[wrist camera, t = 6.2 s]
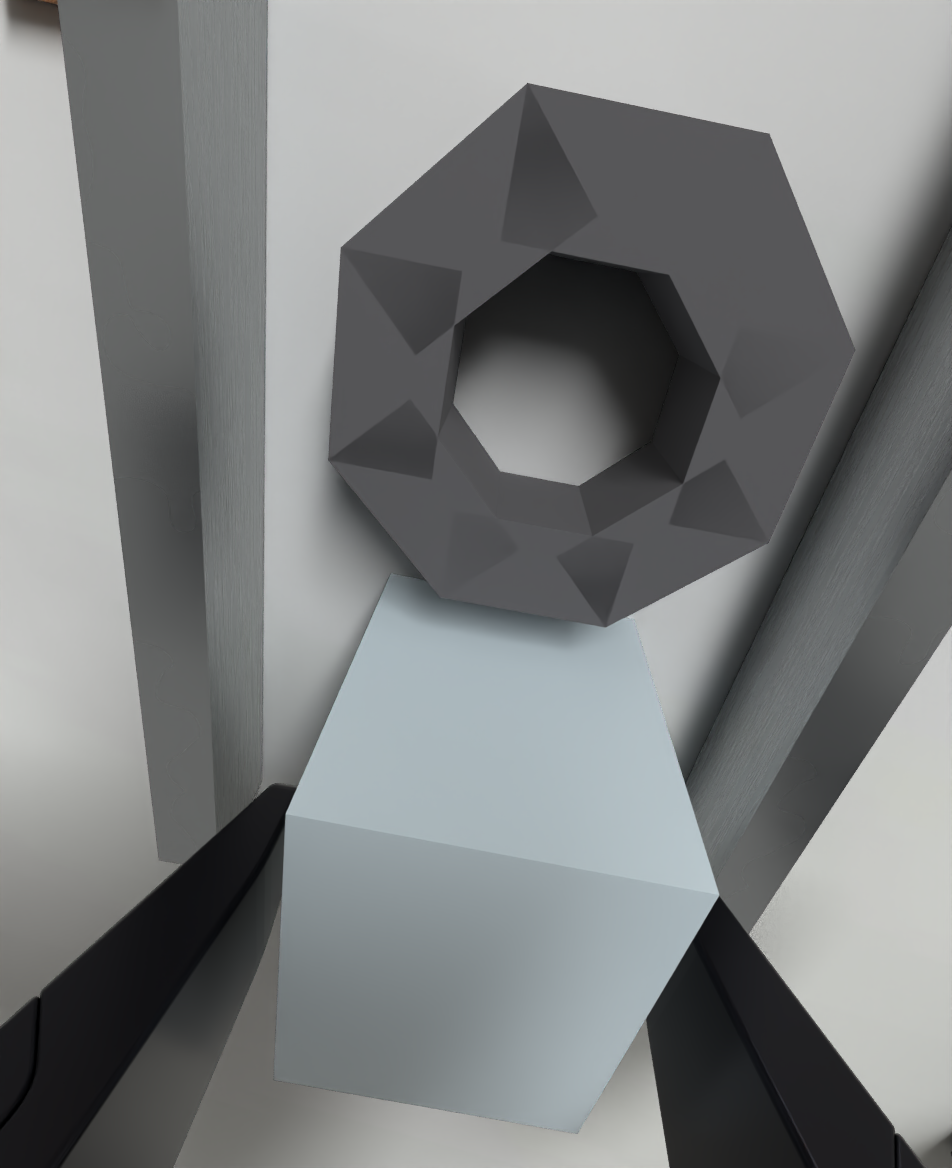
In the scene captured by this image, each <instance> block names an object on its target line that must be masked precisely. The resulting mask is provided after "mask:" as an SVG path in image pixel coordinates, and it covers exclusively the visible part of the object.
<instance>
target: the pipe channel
mask: <svg viewBox="0 0 952 1168" xmlns="http://www.w3.org/2000/svg"><path fill="white" fill-rule="evenodd" d="M39 1H44V2H49V3H53V4H58V10H59V19H60V27H61V36H62V44H63V52H64V61H65V69H66V78H67V86H68V95H69V103H70V112H71V120H72V129H73V137H74V146H75V154H76V163H77V171H78V179H79V188H80V196H81V205H82V213H83V222H84V230H85V239H86V247H87V256H88V264H89V273H90V281H91V289H92V298H93V306H94V315H95V323H96V332H97V340H98V349H99V357H100V366H101V374H102V383H103V391H104V400H105V408H106V416H107V425H108V433H109V442H110V450H111V459H112V467H113V476H114V484H115V493H116V501H117V510H118V518H119V526H120V535H121V543H122V552H123V560H124V569H125V577H126V586H127V594H128V603H129V611H130V620H131V628H132V637H133V645H134V653H135V662H136V670H137V679H138V687H139V696H140V704H141V713H142V721H143V730H144V738H145V747H146V755H147V764H148V772H149V780H150V789H151V797H152V806H153V814H154V823H155V831H156V840H157V848H158V857H159V860H161V861H167V862H173V863H179V864H183V863H184V862H185V861H187V860H188V859H189V858H190V857H191V856H192V855H193V854H194V853H196V852H197V851H198V850H199V849H200V848H201V847H202V846H203V845H204V844H206V843H207V842H208V841H209V840H210V839H211V838H212V837H213V836H215V835H216V834H217V833H218V832H219V831H220V830H221V829H222V828H224V827H225V826H226V825H227V824H228V823H229V822H230V821H231V820H232V819H234V818H235V817H236V816H237V815H238V814H239V813H240V812H241V811H243V810H244V809H245V808H246V807H247V806H248V805H249V804H250V803H251V802H252V800H253V798H254V796H255V794H256V791H257V789H258V787H259V785H260V783H261V781H262V699H263V547H264V396H265V245H266V93H267V0H39ZM951 626H952V227H951V229H950V231H949V233H948V235H947V237H946V239H945V242H944V244H943V246H942V248H941V250H940V252H939V254H938V256H937V258H936V260H935V262H934V265H933V267H932V269H931V271H930V273H929V275H928V277H927V279H926V281H925V283H924V285H923V288H922V290H921V292H920V294H919V296H918V298H917V300H916V302H915V304H914V306H913V308H912V311H911V313H910V315H909V317H908V319H907V321H906V323H905V325H904V327H903V329H902V331H901V334H900V336H899V338H898V340H897V342H896V344H895V346H894V348H893V350H892V352H891V354H890V357H889V359H888V361H887V363H886V365H885V367H884V369H883V371H882V373H881V375H880V377H879V380H878V382H877V384H876V386H875V388H874V390H873V392H872V394H871V396H870V398H869V401H868V403H867V405H866V407H865V409H864V411H863V413H862V415H861V417H860V419H859V421H858V424H857V426H856V428H855V430H854V432H853V434H852V436H851V438H850V440H849V442H848V444H847V447H846V449H845V451H844V453H843V455H842V457H841V459H840V461H839V463H838V465H837V467H836V470H835V472H834V474H833V476H832V478H831V480H830V482H829V484H828V486H827V488H826V490H825V493H824V495H823V497H822V499H821V501H820V503H819V505H818V507H817V509H816V511H815V513H814V516H813V518H812V520H811V522H810V524H809V526H808V528H807V530H806V532H805V534H804V537H803V539H802V541H801V543H800V545H799V547H798V549H797V551H796V553H795V555H794V557H793V560H792V562H791V564H790V566H789V568H788V570H787V572H786V574H785V576H784V578H783V580H782V583H781V585H780V587H779V589H778V591H777V593H776V595H775V597H774V599H773V601H772V603H771V606H770V608H769V610H768V612H767V614H766V616H765V618H764V620H763V622H762V624H761V626H760V629H759V631H758V633H757V635H756V637H755V639H754V641H753V643H752V645H751V647H750V649H749V652H748V654H747V656H746V658H745V660H744V662H743V664H742V666H741V668H740V670H739V672H738V675H737V677H736V679H735V681H734V683H733V685H732V687H731V689H730V691H729V693H728V696H727V698H726V700H725V702H724V704H723V706H722V708H721V710H720V712H719V714H718V716H717V719H716V721H715V723H714V725H713V727H712V729H711V731H710V733H709V735H708V737H707V739H706V742H705V744H704V746H703V748H702V750H701V752H700V754H699V756H698V758H697V760H696V762H695V765H694V767H693V769H692V771H691V773H690V775H689V777H688V779H687V781H686V783H685V785H686V788H687V792H688V795H689V798H690V801H691V805H692V808H693V811H694V814H695V818H696V821H697V824H698V827H699V831H700V834H701V837H702V840H703V843H704V847H705V850H706V853H707V856H708V860H709V863H710V866H711V869H712V873H713V876H714V879H715V882H716V885H717V889H718V892H719V896H720V897H721V899H722V900H723V901H724V903H725V904H726V905H727V906H728V908H729V909H730V910H731V912H732V913H733V914H734V916H735V917H736V918H737V920H738V921H739V922H740V924H741V925H742V926H743V928H744V929H745V930H746V932H747V933H748V934H749V933H750V931H751V930H752V928H753V926H754V925H755V923H756V922H757V920H758V919H759V917H760V916H761V914H762V913H763V911H764V910H765V908H766V907H767V905H768V904H769V902H770V901H771V899H772V898H773V896H774V895H775V893H776V892H777V890H778V889H779V887H780V885H781V884H782V882H783V881H784V879H785V878H786V876H787V875H788V873H789V872H790V870H791V869H792V867H793V866H794V864H795V863H796V861H797V860H798V858H799V857H800V855H801V854H802V852H803V851H804V849H805V848H806V846H807V844H808V843H809V841H810V840H811V838H812V837H813V835H814V834H815V832H816V831H817V829H818V828H819V826H820V825H821V823H822V822H823V820H824V819H825V817H826V816H827V814H828V813H829V811H830V810H831V808H832V807H833V805H834V803H835V802H836V800H837V799H838V797H839V796H840V794H841V793H842V791H843V790H844V788H845V787H846V785H847V784H848V782H849V781H850V779H851V778H852V776H853V775H854V773H855V772H856V770H857V769H858V767H859V765H860V764H861V762H862V761H863V759H864V758H865V756H866V755H867V753H868V752H869V750H870V749H871V747H872V746H873V744H874V743H875V741H876V740H877V738H878V737H879V735H880V734H881V732H882V731H883V729H884V728H885V726H886V724H887V723H888V721H889V720H890V718H891V717H892V715H893V714H894V712H895V711H896V709H897V708H898V706H899V705H900V703H901V702H902V700H903V699H904V697H905V696H906V694H907V693H908V691H909V690H910V688H911V687H912V685H913V683H914V682H915V680H916V679H917V677H918V676H919V674H920V673H921V671H922V670H923V668H924V667H925V665H926V664H927V662H928V661H929V659H930V658H931V656H932V655H933V653H934V652H935V650H936V649H937V647H938V646H939V644H940V642H941V641H942V639H943V638H944V636H945V635H946V633H947V632H948V630H949V629H950V627H951Z"/></svg>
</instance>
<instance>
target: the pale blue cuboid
mask: <svg viewBox="0 0 952 1168" xmlns="http://www.w3.org/2000/svg"><path fill="white" fill-rule="evenodd" d="M718 897H719V892H718V889H717V885H716V882H715V879H714V876H713V873H712V869H711V866H710V863H709V860H708V856H707V853H706V850H705V847H704V843H703V840H702V837H701V834H700V831H699V827H698V824H697V821H696V818H695V814H694V811H693V808H692V805H691V801H690V798H689V795H688V792H687V788H686V785H685V782H684V779H683V776H682V772H681V769H680V766H679V763H678V759H677V756H676V753H675V750H674V746H673V743H672V740H671V737H670V734H669V730H668V727H667V724H666V721H665V717H664V714H663V711H662V708H661V704H660V701H659V698H658V695H657V691H656V688H655V685H654V682H653V679H652V675H651V672H650V669H649V666H648V662H647V659H646V656H645V653H644V649H643V646H642V643H641V640H640V637H639V633H638V630H637V627H636V624H635V620H634V619H629V618H623V619H621V620H619V621H617V622H615V623H613V624H612V625H610V626H608V627H606V628H605V627H600V626H594V625H589V624H583V623H578V622H572V621H567V620H561V619H556V618H550V617H545V616H539V615H534V614H528V613H523V612H517V611H512V610H506V609H501V608H495V607H490V606H484V605H479V604H473V603H468V602H462V601H457V600H451V599H446V598H440V597H439V595H438V594H437V593H436V592H435V590H434V589H433V588H432V587H431V586H430V584H429V583H428V582H427V581H426V580H423V579H417V578H412V577H407V576H401V575H396V574H390V577H389V579H388V581H387V584H386V586H385V588H384V590H383V593H382V595H381V597H380V600H379V602H378V604H377V606H376V609H375V611H374V613H373V616H372V618H371V620H370V622H369V625H368V627H367V629H366V632H365V634H364V636H363V638H362V641H361V643H360V645H359V648H358V650H357V652H356V654H355V657H354V659H353V661H352V664H351V666H350V668H349V670H348V673H347V675H346V677H345V680H344V682H343V684H342V686H341V689H340V691H339V693H338V696H337V698H336V700H335V702H334V705H333V707H332V709H331V712H330V714H329V716H328V718H327V721H326V723H325V725H324V728H323V730H322V732H321V734H320V737H319V739H318V741H317V744H316V746H315V748H314V750H313V753H312V755H311V757H310V760H309V762H308V764H307V766H306V769H305V771H304V773H303V776H302V778H301V780H300V782H299V785H298V787H297V789H296V792H295V794H294V796H293V798H292V801H291V803H290V805H289V808H288V810H287V812H286V817H285V839H284V861H283V883H282V905H281V927H280V948H279V970H278V992H277V1014H276V1036H275V1058H274V1080H275V1081H281V1082H287V1083H292V1084H298V1085H304V1086H309V1087H315V1088H321V1089H326V1090H332V1091H338V1092H343V1093H349V1094H355V1095H360V1096H366V1097H372V1098H377V1099H383V1100H388V1101H394V1102H400V1103H405V1104H411V1105H417V1106H422V1107H428V1108H434V1109H439V1110H445V1111H451V1112H456V1113H462V1114H468V1115H473V1116H479V1117H485V1118H490V1119H496V1120H501V1121H507V1122H513V1123H518V1124H524V1125H530V1126H535V1127H541V1128H547V1129H552V1130H558V1131H564V1132H569V1133H575V1134H578V1132H579V1130H580V1129H581V1127H582V1125H583V1124H584V1122H585V1120H586V1119H587V1117H588V1115H589V1114H590V1112H591V1110H592V1108H593V1107H594V1105H595V1103H596V1102H597V1100H598V1098H599V1097H600V1095H601V1093H602V1092H603V1090H604V1088H605V1087H606V1085H607V1083H608V1082H609V1080H610V1078H611V1077H612V1075H613V1073H614V1072H615V1070H616V1068H617V1066H618V1065H619V1063H620V1061H621V1060H622V1058H623V1056H624V1055H625V1053H626V1051H627V1050H628V1048H629V1046H630V1045H631V1043H632V1041H633V1040H634V1038H635V1036H636V1035H637V1033H638V1031H639V1029H640V1028H641V1026H642V1024H643V1023H644V1021H645V1019H646V1018H647V1016H648V1014H649V1013H650V1011H651V1009H652V1008H653V1006H654V1004H655V1003H656V1001H657V999H658V998H659V996H660V994H661V992H662V991H663V989H664V987H665V986H666V984H667V982H668V981H669V979H670V977H671V976H672V974H673V972H674V971H675V969H676V967H677V966H678V964H679V962H680V961H681V959H682V957H683V955H684V954H685V952H686V950H687V949H688V947H689V945H690V944H691V942H692V940H693V939H694V937H695V935H696V934H697V932H698V930H699V929H700V927H701V925H702V924H703V922H704V920H705V919H706V917H707V915H708V913H709V912H710V910H711V908H712V907H713V905H714V903H715V902H716V900H717V898H718Z"/></svg>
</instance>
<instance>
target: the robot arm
mask: <svg viewBox="0 0 952 1168" xmlns="http://www.w3.org/2000/svg"><path fill="white" fill-rule="evenodd" d="M297 787H298V786H294V785H288V784H282V783H275V784H272V785H271V786H269V787H268V788H267V789H266V790H265V791H264V792H263V793H262V794H260V795H259V796H258V797H257V798H256V799H255V800H254V801H253V802H251V803H250V804H249V805H248V806H247V807H246V808H245V809H244V810H243V811H241V812H240V813H239V814H238V815H237V816H236V817H235V818H234V819H232V820H231V821H230V822H229V823H228V824H227V825H226V826H225V827H224V828H222V829H221V830H220V831H219V832H218V833H217V834H216V835H215V836H213V837H212V838H211V839H210V840H209V841H208V842H207V843H206V844H204V845H203V846H202V847H201V848H200V849H199V850H198V851H197V852H196V853H194V854H193V855H192V856H191V857H190V858H189V859H188V860H187V861H185V862H184V863H183V864H182V865H181V866H180V867H179V868H178V869H177V870H175V871H174V872H173V873H172V874H171V875H170V876H169V877H168V878H166V879H165V880H164V881H163V882H162V883H161V884H160V885H159V886H158V887H156V888H155V889H154V890H153V891H152V892H151V893H150V894H149V895H147V896H146V897H145V898H144V899H143V900H142V901H141V902H140V903H138V904H137V905H136V906H135V907H134V908H133V909H132V910H131V911H130V912H128V913H127V914H126V915H125V916H124V917H123V918H122V919H121V920H119V921H118V922H117V923H116V924H115V925H114V926H113V927H112V928H111V929H109V930H108V931H107V932H106V933H105V934H104V935H103V936H102V937H100V938H99V939H98V940H97V941H96V942H95V943H94V944H93V945H92V946H90V947H89V948H88V949H87V950H86V951H85V952H84V953H83V954H81V955H80V956H79V957H78V958H77V959H76V960H75V961H74V962H72V963H71V964H70V965H69V966H68V967H67V968H66V969H65V970H64V971H62V972H61V973H60V974H59V975H58V976H57V977H56V978H55V979H53V980H52V981H51V982H50V983H49V984H48V985H47V986H46V987H45V988H43V989H42V991H41V993H40V998H39V997H33V998H32V999H31V1000H29V1001H28V1002H27V1003H26V1004H25V1005H24V1006H23V1007H22V1008H21V1009H19V1010H18V1011H17V1012H16V1013H15V1014H14V1015H13V1016H12V1017H11V1018H9V1019H8V1020H7V1021H6V1022H5V1023H4V1024H3V1025H2V1026H1V1027H0V1168H173V1166H174V1164H175V1162H176V1159H177V1157H178V1155H179V1152H180V1150H181V1148H182V1145H183V1143H184V1141H185V1138H186V1136H187V1133H188V1131H189V1129H190V1126H191V1124H192V1122H193V1119H194V1117H195V1115H196V1112H197V1110H198V1108H199V1105H200V1103H201V1100H202V1098H203V1096H204V1093H205V1091H206V1089H207V1086H208V1084H209V1082H210V1079H211V1077H212V1075H213V1072H214V1070H215V1068H216V1065H217V1063H218V1060H219V1058H220V1056H221V1053H222V1051H223V1049H224V1046H225V1044H226V1042H227V1039H228V1037H229V1035H230V1032H231V1030H232V1027H233V1025H234V1023H235V1020H236V1018H237V1016H238V1013H239V1011H240V1009H241V1006H242V1004H243V1002H244V999H245V997H246V995H247V992H248V990H249V987H250V985H251V983H252V980H253V978H254V976H255V973H256V971H257V968H258V966H259V963H260V961H261V958H262V956H263V953H264V950H265V947H266V944H267V941H268V938H269V935H270V932H271V929H272V926H273V923H274V919H275V916H276V913H277V909H278V906H279V903H280V900H281V896H282V883H283V861H284V839H285V817H286V812H287V810H288V808H289V805H290V803H291V801H292V798H293V796H294V794H295V792H296V789H297ZM646 1022H647V1029H648V1036H649V1042H650V1049H651V1055H652V1061H653V1067H654V1074H655V1080H656V1086H657V1092H658V1098H659V1105H660V1111H661V1117H662V1123H663V1130H664V1136H665V1142H666V1148H667V1155H668V1161H669V1167H670V1168H925V1166H924V1165H923V1164H922V1162H921V1161H920V1160H919V1158H918V1157H917V1156H916V1154H915V1153H914V1152H913V1151H912V1149H911V1148H910V1147H909V1145H908V1144H907V1143H906V1141H905V1140H904V1139H903V1137H902V1136H901V1135H900V1134H897V1133H895V1130H894V1126H893V1125H892V1123H891V1122H890V1121H889V1119H888V1118H887V1117H886V1115H885V1114H884V1113H883V1111H882V1110H881V1109H880V1107H879V1106H878V1105H877V1103H876V1102H875V1101H874V1099H873V1098H872V1097H871V1095H870V1094H869V1093H868V1091H867V1090H866V1089H865V1087H864V1086H863V1085H862V1084H861V1082H860V1081H859V1080H858V1078H857V1077H856V1076H855V1074H854V1073H853V1072H852V1070H851V1069H850V1068H849V1066H848V1065H847V1064H846V1062H845V1061H844V1060H843V1058H842V1057H841V1056H840V1054H839V1053H838V1052H837V1051H836V1049H835V1048H834V1047H833V1045H832V1044H831V1043H830V1041H829V1040H828V1039H827V1037H826V1036H825V1035H824V1033H823V1032H822V1031H821V1029H820V1028H819V1027H818V1025H817V1024H816V1023H815V1021H814V1020H813V1019H812V1017H811V1016H810V1015H809V1014H808V1012H807V1011H806V1010H805V1008H804V1007H803V1006H802V1004H801V1003H800V1002H799V1000H798V999H797V998H796V996H795V995H794V994H793V992H792V991H791V990H790V988H789V987H788V986H787V984H786V983H785V982H784V980H783V979H782V978H781V977H780V975H779V974H778V973H777V971H776V970H775V969H774V967H773V966H772V965H771V963H770V962H769V961H768V959H767V958H766V957H765V955H764V954H763V953H762V951H761V950H760V949H759V947H758V946H757V945H756V943H755V942H754V941H753V940H752V938H751V937H750V936H749V934H748V933H747V932H746V930H745V929H744V928H743V926H742V925H741V924H740V922H739V921H738V920H737V918H736V917H735V916H734V914H733V913H732V912H731V910H730V909H729V908H728V906H727V905H726V904H725V903H724V901H723V900H722V899H721V897H720V896H719V897H718V898H717V900H716V902H715V903H714V905H713V907H712V908H711V910H710V912H709V913H708V915H707V917H706V919H705V920H704V922H703V924H702V925H701V927H700V929H699V930H698V932H697V934H696V935H695V937H694V939H693V940H692V942H691V944H690V945H689V947H688V949H687V950H686V952H685V954H684V955H683V957H682V959H681V961H680V962H679V964H678V966H677V967H676V969H675V971H674V972H673V974H672V976H671V977H670V979H669V981H668V982H667V984H666V986H665V987H664V989H663V991H662V992H661V994H660V996H659V998H658V999H657V1001H656V1003H655V1004H654V1006H653V1008H652V1009H651V1011H650V1013H649V1014H648V1016H647V1018H646ZM951 1155H952V1152H951Z"/></svg>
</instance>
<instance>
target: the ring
mask: <svg viewBox="0 0 952 1168" xmlns="http://www.w3.org/2000/svg"><path fill="white" fill-rule="evenodd" d="M547 254H549V255H554V256H559V257H564V258H569V259H574V260H579V261H584V262H589V263H594V264H599V265H604V266H609V267H614V268H619V269H624V270H629V271H634V272H637V274H638V276H639V278H640V280H641V282H642V284H643V286H644V288H645V289H646V291H647V293H648V295H649V297H650V299H651V301H652V303H653V305H654V307H655V309H656V311H657V313H658V315H659V317H660V318H661V320H662V322H663V324H664V326H665V328H666V330H667V332H668V334H669V336H670V338H671V340H672V342H673V344H674V345H675V347H676V349H677V351H678V353H679V357H678V360H677V363H676V366H675V369H674V372H673V376H672V379H671V382H670V385H669V388H668V391H667V394H666V397H665V401H664V404H663V407H662V410H661V413H660V416H659V419H658V423H657V426H656V429H655V432H654V435H653V438H652V441H651V442H650V443H648V444H647V445H645V446H644V447H642V448H640V449H639V450H637V451H635V452H634V453H632V454H631V455H629V456H627V457H626V458H624V459H622V460H621V461H619V462H617V463H616V464H614V465H613V466H611V467H609V468H608V469H606V470H604V471H603V472H601V473H600V474H598V475H596V476H595V477H593V478H591V479H590V480H588V481H587V482H585V483H583V484H582V485H580V486H574V485H569V484H564V483H558V482H553V481H548V480H542V479H537V478H532V477H527V476H521V475H516V474H511V473H505V472H500V471H499V469H498V468H497V466H496V465H495V463H494V462H493V461H492V459H491V458H490V456H489V455H488V453H487V452H486V451H485V449H484V448H483V446H482V445H481V443H480V442H479V440H478V439H477V438H476V436H475V435H474V433H473V432H472V430H471V429H470V427H469V426H468V425H467V423H466V422H465V420H464V419H463V417H462V416H461V415H460V413H459V412H458V410H457V409H456V407H455V406H454V404H453V399H454V393H455V386H456V380H457V373H458V367H459V360H460V354H461V347H462V341H463V334H464V328H465V321H466V316H468V315H469V314H470V313H472V312H473V311H474V310H475V309H477V308H478V307H479V306H481V305H482V304H483V303H485V302H486V301H487V300H489V299H490V298H491V297H492V296H494V295H495V294H496V293H498V292H499V291H500V290H502V289H503V288H504V287H505V286H507V285H508V284H509V283H511V282H512V281H513V280H515V279H516V278H517V277H519V276H520V275H521V274H522V273H524V272H525V271H526V270H528V269H529V268H530V267H532V266H533V265H534V264H536V263H537V262H538V261H539V260H541V259H542V258H543V257H545V256H546V255H547ZM854 352H855V348H854V346H853V343H852V341H851V338H850V336H849V333H848V331H847V328H846V326H845V323H844V321H843V318H842V316H841V313H840V311H839V308H838V306H837V303H836V301H835V298H834V295H833V293H832V290H831V288H830V285H829V283H828V280H827V278H826V275H825V273H824V270H823V268H822V265H821V263H820V260H819V258H818V255H817V253H816V250H815V248H814V245H813V243H812V240H811V238H810V235H809V233H808V230H807V227H806V225H805V222H804V220H803V217H802V215H801V212H800V210H799V207H798V205H797V202H796V200H795V197H794V195H793V192H792V190H791V187H790V185H789V182H788V180H787V177H786V175H785V172H784V170H783V167H782V165H781V162H780V160H779V157H778V154H777V152H776V149H775V147H774V144H773V142H772V139H771V137H770V134H768V133H763V132H758V131H753V130H748V129H744V128H739V127H734V126H729V125H725V124H720V123H715V122H710V121H706V120H701V119H696V118H691V117H687V116H682V115H677V114H672V113H667V112H663V111H658V110H653V109H648V108H644V107H639V106H634V105H629V104H625V103H620V102H615V101H610V100H606V99H601V98H596V97H591V96H586V95H582V94H577V93H572V92H567V91H563V90H558V89H553V88H548V87H544V86H539V85H534V84H529V83H527V84H526V85H525V86H524V87H523V88H522V89H520V90H519V91H518V92H517V93H516V94H515V95H514V96H512V97H511V98H510V99H509V100H508V101H507V102H506V103H504V104H503V105H502V106H501V107H500V108H499V109H498V110H497V111H495V112H494V113H493V114H492V115H491V116H490V117H489V118H487V119H486V120H485V121H484V122H483V123H482V124H481V125H480V126H478V127H477V128H476V129H475V130H474V131H473V132H472V133H470V134H469V135H468V136H467V137H466V138H465V139H464V140H462V141H461V142H460V143H459V144H458V145H457V146H456V147H455V148H453V149H452V150H451V151H450V152H449V153H448V154H447V155H445V156H444V157H443V158H442V159H441V160H440V161H439V162H438V163H436V164H435V165H434V166H433V167H432V168H431V169H430V170H428V171H427V172H426V173H425V174H424V175H423V176H422V177H420V178H419V179H418V180H417V181H416V182H415V183H414V184H413V185H411V186H410V187H409V188H408V189H407V190H406V191H405V192H403V193H402V194H401V195H400V196H399V197H398V198H397V199H395V200H394V201H393V202H392V203H391V204H390V205H389V206H388V207H386V208H385V209H384V210H383V211H382V212H381V213H380V214H378V215H377V216H376V217H375V218H374V219H373V220H372V221H371V222H369V223H368V224H367V225H366V226H365V227H364V228H363V229H361V230H360V231H359V232H358V233H357V234H356V235H355V236H353V237H352V238H351V239H350V240H349V241H348V242H347V243H346V244H344V245H343V246H342V247H341V254H340V271H339V288H338V305H337V322H336V339H335V356H334V372H333V389H332V406H331V423H330V440H329V457H328V460H329V461H330V463H331V464H332V465H333V466H334V468H335V469H336V470H337V471H338V472H339V474H340V475H341V476H342V477H343V479H344V480H345V481H346V482H347V484H348V485H349V486H350V487H351V488H352V490H353V491H354V492H355V493H356V495H357V496H358V497H359V498H360V500H361V501H362V502H363V503H364V504H365V506H366V507H367V508H368V509H369V511H370V512H371V513H372V514H373V515H374V517H375V518H376V519H377V520H378V522H379V523H380V524H381V525H382V527H383V528H384V529H385V530H386V531H387V533H388V534H389V535H390V536H391V538H392V539H393V540H394V541H395V543H396V544H397V545H398V546H399V547H400V549H401V550H402V551H403V552H404V554H405V555H406V556H407V557H408V558H409V560H410V561H411V562H412V563H413V565H414V566H415V567H416V568H417V570H418V571H419V572H420V573H421V574H422V576H423V577H424V578H425V579H426V581H427V582H428V583H429V584H430V586H431V587H432V588H433V589H434V590H435V592H436V593H437V594H438V595H439V597H440V598H446V599H451V600H457V601H462V602H468V603H473V604H479V605H484V606H490V607H495V608H501V609H506V610H512V611H517V612H523V613H528V614H534V615H539V616H545V617H550V618H556V619H561V620H567V621H572V622H578V623H583V624H589V625H594V626H600V627H605V628H606V627H608V626H610V625H612V624H613V623H615V622H617V621H619V620H621V619H623V618H625V617H627V616H629V615H631V614H633V613H635V612H637V611H638V610H640V609H642V608H644V607H646V606H648V605H650V604H652V603H654V602H656V601H658V600H660V599H661V598H663V597H665V596H667V595H669V594H671V593H673V592H675V591H677V590H679V589H681V588H683V587H685V586H686V585H688V584H690V583H692V582H694V581H696V580H698V579H700V578H702V577H704V576H706V575H708V574H710V573H711V572H713V571H715V570H717V569H719V568H721V567H723V566H725V565H727V564H729V563H731V562H733V561H734V560H736V559H738V558H740V557H742V556H744V555H746V554H748V553H750V552H752V551H754V550H756V549H758V548H759V547H761V546H763V545H765V544H767V543H769V541H770V538H771V536H772V534H773V532H774V529H775V527H776V525H777V523H778V521H779V518H780V516H781V514H782V512H783V509H784V507H785V505H786V503H787V501H788V498H789V496H790V494H791V492H792V489H793V487H794V485H795V483H796V481H797V478H798V476H799V474H800V472H801V469H802V467H803V465H804V463H805V461H806V458H807V456H808V454H809V452H810V449H811V447H812V445H813V443H814V441H815V438H816V436H817V434H818V432H819V429H820V427H821V425H822V423H823V421H824V418H825V416H826V414H827V412H828V409H829V407H830V405H831V403H832V401H833V398H834V396H835V394H836V392H837V389H838V387H839V385H840V383H841V381H842V378H843V376H844V374H845V372H846V369H847V367H848V365H849V363H850V361H851V358H852V356H853V354H854Z"/></svg>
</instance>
